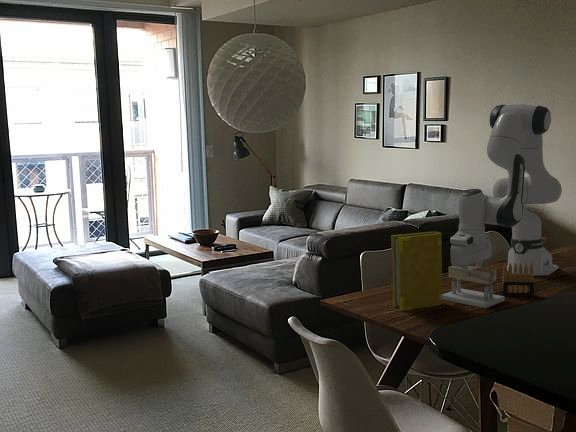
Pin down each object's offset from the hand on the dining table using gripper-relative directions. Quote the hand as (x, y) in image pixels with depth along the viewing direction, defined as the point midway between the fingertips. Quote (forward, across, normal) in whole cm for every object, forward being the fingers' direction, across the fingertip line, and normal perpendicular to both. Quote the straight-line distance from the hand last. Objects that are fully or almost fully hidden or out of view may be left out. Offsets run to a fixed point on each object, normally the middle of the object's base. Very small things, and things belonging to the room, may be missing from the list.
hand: (472, 274), depth 227 cm
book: (+9, +17, -10) cm, 22 cm away
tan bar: (+2, 0, 0) cm, 2 cm away
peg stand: (+9, 0, 0) cm, 9 cm away
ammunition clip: (+9, -15, +9) cm, 20 cm away
